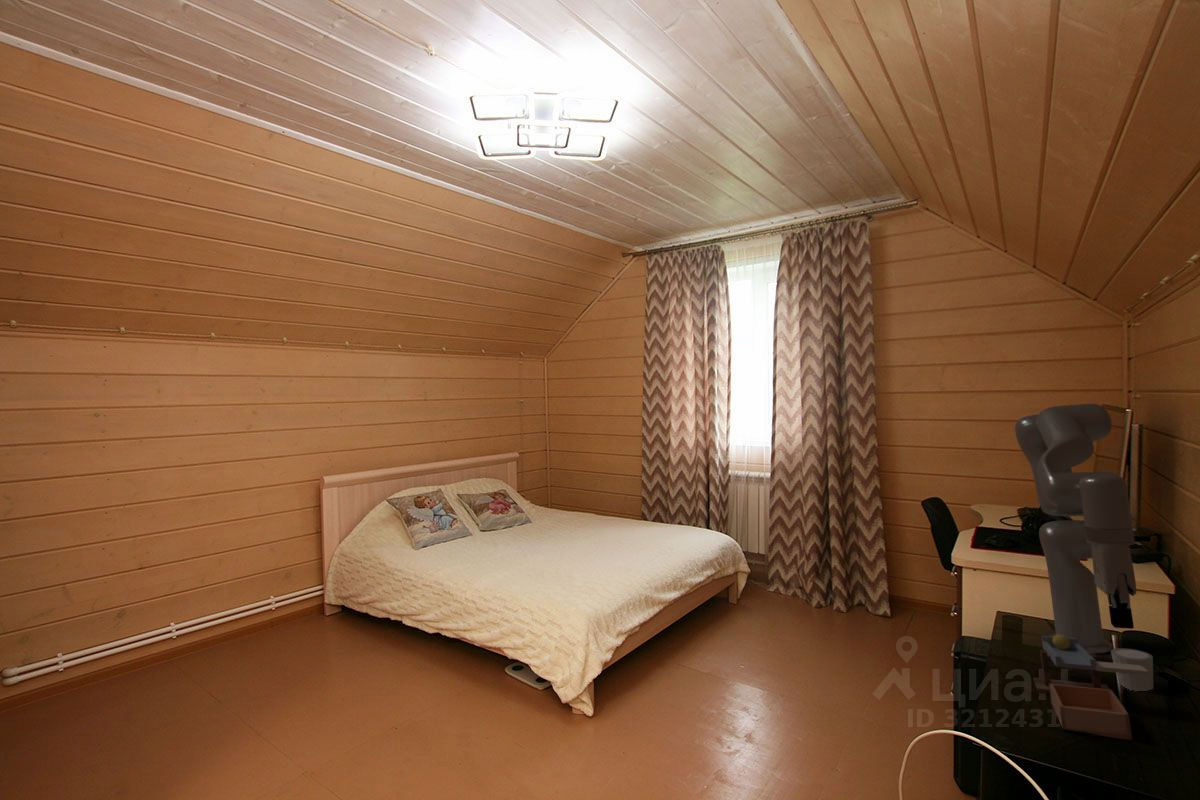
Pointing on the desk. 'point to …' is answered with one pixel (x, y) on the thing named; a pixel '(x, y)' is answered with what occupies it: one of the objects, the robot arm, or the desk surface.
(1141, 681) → the light grey cylinder
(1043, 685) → the stand
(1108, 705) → the pink open box
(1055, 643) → the ball
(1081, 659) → the grey piece
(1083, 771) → the desk surface
